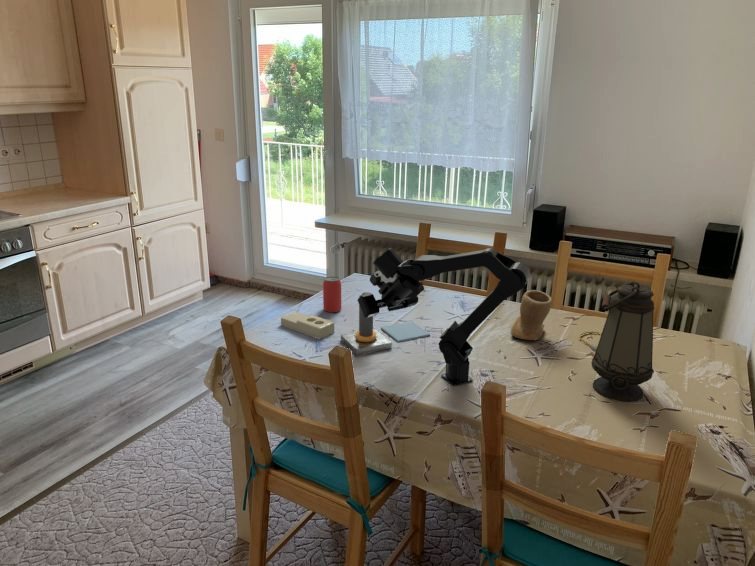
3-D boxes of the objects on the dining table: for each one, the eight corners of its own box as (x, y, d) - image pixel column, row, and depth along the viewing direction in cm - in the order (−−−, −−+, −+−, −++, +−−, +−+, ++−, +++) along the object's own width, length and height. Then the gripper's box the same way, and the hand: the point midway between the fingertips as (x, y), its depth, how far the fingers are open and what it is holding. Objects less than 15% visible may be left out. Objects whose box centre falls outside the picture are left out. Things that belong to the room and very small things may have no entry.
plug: (379, 346, 171) (380, 295, 166) (361, 350, 168) (361, 298, 163) (370, 338, 177) (371, 289, 171) (352, 342, 174) (352, 291, 168)
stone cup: (543, 346, 173) (549, 302, 168) (506, 339, 178) (510, 295, 173) (551, 329, 186) (557, 287, 181) (516, 323, 191) (521, 282, 186)
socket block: (391, 348, 170) (391, 342, 169) (356, 355, 165) (356, 349, 164) (374, 333, 180) (374, 328, 179) (340, 340, 175) (340, 334, 174)
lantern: (649, 413, 137) (671, 300, 127) (585, 399, 143) (601, 290, 133) (649, 381, 153) (669, 279, 143) (591, 369, 159) (606, 270, 149)
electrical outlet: (296, 309, 190) (334, 321, 180) (296, 320, 191) (334, 333, 181) (280, 315, 185) (319, 328, 174) (281, 326, 186) (320, 340, 176)
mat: (430, 335, 180) (430, 333, 179) (398, 342, 174) (398, 340, 174) (411, 322, 190) (411, 321, 189) (380, 328, 184) (380, 327, 184)
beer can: (340, 313, 197) (340, 281, 193) (322, 312, 197) (321, 281, 193) (342, 306, 203) (341, 275, 199) (324, 306, 203) (323, 275, 200)
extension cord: (573, 349, 172) (574, 343, 172) (581, 332, 186) (582, 326, 185) (615, 358, 167) (616, 352, 166) (620, 339, 180) (621, 334, 179)
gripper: (413, 258, 160) (389, 284, 172) (361, 269, 149) (339, 295, 161) (430, 291, 157) (404, 315, 169) (378, 304, 146) (354, 328, 158)
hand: (376, 312), depth 164 cm, fingers open, 9 cm apart
